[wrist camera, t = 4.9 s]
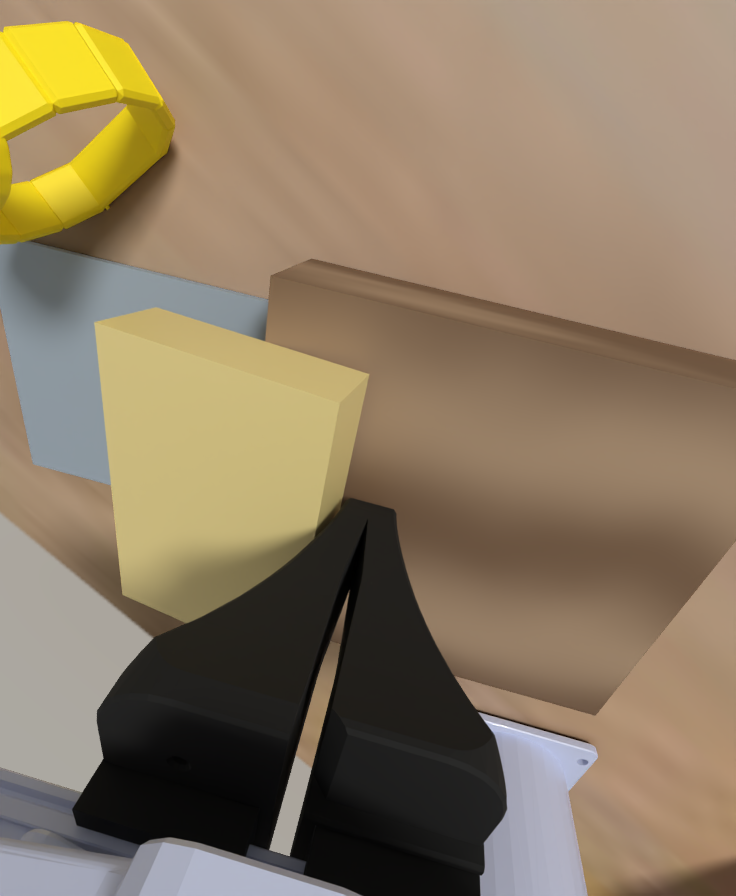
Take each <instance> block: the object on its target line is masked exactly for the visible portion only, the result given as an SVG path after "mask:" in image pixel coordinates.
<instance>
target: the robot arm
mask: <svg viewBox="0 0 736 896" xmlns="http://www.w3.org/2000/svg"><path fill="white" fill-rule="evenodd" d="M396 516H397V514H396V512H395V510H394V509H391V508H387V507H384V506H380V505H376V504H372V503H369V502H365V501H361V500H357V499H354V498H350V499H347V500H346V501H345V503H344V505H343V506H342V508H341V509H340V510H339V512H338V513H337V514H336V515H335V517H334V518H333V519H332V520H331V521H330V522H329V524H328V525H327V526H326V527H325V528H324V529H323V530H322V531H321V532H320V533H319V534H318V535H317V536H316V537H315V538H314V539H313V540H312V541H311V542H310V543H309V544H308V545H307V546H306V547H305V548H304V549H302V550H301V551H300V552H299V553H298V554H297V555H296V556H295V557H294V558H292V559H291V560H290V561H289V562H287V563H286V564H285V565H284V566H282V567H281V568H280V569H279V570H277V571H276V572H275V573H273V574H272V575H270V576H269V577H268V578H266V579H265V580H263V581H262V582H260V583H259V584H257V585H256V586H254V587H253V588H251V589H250V590H248V591H247V592H245V593H243V594H242V595H240V596H239V597H237V598H235V599H233V600H232V601H230V602H228V603H226V604H224V605H222V606H220V607H219V608H217V609H215V610H213V611H211V612H209V613H207V614H206V615H204V616H202V617H200V618H198V619H195V620H193V621H191V622H189V623H186V624H184V625H182V626H180V627H177V628H175V629H173V630H170V631H168V632H166V633H164V634H161V635H159V636H156V637H155V638H154V639H153V640H152V641H151V642H150V643H149V644H148V645H147V646H146V647H145V648H144V649H143V650H142V651H141V652H140V653H139V654H138V656H137V657H136V658H135V659H134V660H133V661H132V662H131V663H130V665H129V666H128V667H127V668H126V669H125V671H124V672H123V673H122V675H121V676H120V677H119V679H118V680H117V682H116V683H115V685H114V686H113V688H112V689H111V691H110V692H109V694H108V695H107V697H106V698H105V700H104V701H103V703H102V704H101V706H100V707H99V709H98V710H97V725H98V731H99V736H100V741H101V747H102V752H103V758H104V759H103V760H102V762H101V764H100V765H99V767H98V769H97V770H96V772H95V773H94V775H93V776H92V778H91V780H90V781H89V783H88V784H87V786H86V788H85V789H84V791H83V792H78V791H75V790H72V789H69V788H65V787H62V786H59V785H55V784H52V783H49V782H46V781H42V780H39V779H36V778H33V777H29V776H26V775H23V774H20V773H16V772H13V771H9V770H6V769H3V768H0V896H588V894H587V889H586V884H585V878H584V873H583V868H582V863H581V857H580V852H579V847H578V842H577V836H576V831H575V826H574V821H573V815H572V810H571V805H570V800H569V794H568V791H569V790H570V789H571V788H572V787H573V786H574V784H575V783H576V782H577V781H578V780H579V779H580V778H581V776H582V775H583V774H584V773H585V772H586V771H587V770H588V769H589V767H590V766H591V765H592V764H593V763H594V762H595V761H596V759H597V758H598V755H597V751H596V748H595V747H594V746H593V745H591V744H589V743H585V742H582V741H578V740H575V739H571V738H568V737H564V736H561V735H557V734H554V733H550V732H547V731H543V730H540V729H536V728H533V727H529V726H526V725H522V724H518V723H515V722H511V721H508V720H504V719H501V718H497V717H494V716H490V715H487V714H483V713H480V712H477V710H476V709H475V707H474V706H473V705H472V703H471V702H470V700H469V699H468V697H467V696H466V694H465V693H464V691H463V690H462V688H461V686H460V685H459V683H458V682H457V680H456V679H455V677H454V675H453V674H452V672H451V670H450V668H449V666H448V665H447V663H446V661H445V659H444V657H443V656H442V654H441V652H440V650H439V648H438V647H437V645H436V643H435V641H434V639H433V637H432V635H431V633H430V631H429V629H428V626H427V624H426V622H425V620H424V617H423V615H422V613H421V611H420V608H419V606H418V603H417V600H416V598H415V595H414V592H413V589H412V586H411V583H410V580H409V577H408V574H407V570H406V567H405V563H404V559H403V555H402V551H401V547H400V542H399V536H398V529H397V518H396ZM349 590H350V591H349ZM348 593H349V597H348V603H347V609H346V615H345V621H344V628H343V634H342V640H341V646H340V652H339V658H338V665H337V670H336V674H335V679H334V684H333V688H332V692H331V696H330V699H329V703H328V707H327V711H326V715H325V719H324V723H323V727H322V731H321V735H320V739H319V743H318V747H317V751H316V755H315V759H314V763H313V766H312V770H311V775H310V778H309V782H308V786H307V790H306V794H305V798H304V802H303V806H302V810H301V814H300V818H299V821H298V826H297V829H296V833H295V837H294V841H293V845H292V849H291V853H290V856H286V855H283V854H280V853H277V852H273V851H270V850H269V848H270V845H271V841H272V838H273V834H274V830H275V827H276V823H277V820H278V816H279V812H280V809H281V805H282V801H283V798H284V794H285V791H286V787H287V784H288V780H289V776H290V773H291V769H292V766H293V762H294V758H295V755H296V751H297V748H298V744H299V741H300V737H301V733H302V730H303V726H304V723H305V719H306V716H307V712H308V708H309V705H310V701H311V698H312V694H313V691H314V687H315V684H316V680H317V677H318V674H319V671H320V668H321V665H322V662H323V659H324V656H325V653H326V651H327V648H328V646H329V643H330V640H331V638H332V635H333V632H334V630H335V627H336V625H337V622H338V619H339V617H340V614H341V611H342V609H343V606H344V603H345V601H346V598H347V596H348Z"/></svg>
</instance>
